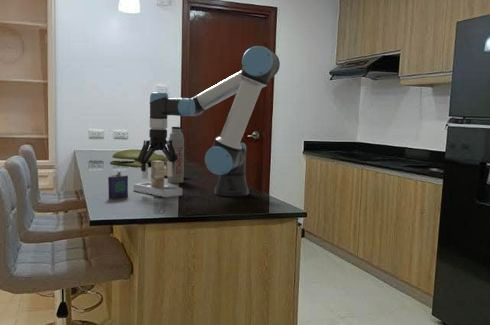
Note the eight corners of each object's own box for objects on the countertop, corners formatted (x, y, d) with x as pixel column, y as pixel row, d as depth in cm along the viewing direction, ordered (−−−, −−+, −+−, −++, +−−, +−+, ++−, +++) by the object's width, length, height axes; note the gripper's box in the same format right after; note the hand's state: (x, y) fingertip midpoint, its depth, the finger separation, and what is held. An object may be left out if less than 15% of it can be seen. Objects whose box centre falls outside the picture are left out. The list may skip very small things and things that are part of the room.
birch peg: (163, 193, 203) (164, 161, 202) (156, 194, 200) (157, 161, 199) (158, 191, 206) (158, 160, 204) (150, 192, 203) (151, 160, 201)
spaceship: (173, 165, 314) (173, 150, 313) (140, 168, 288) (140, 153, 287) (136, 160, 332) (136, 147, 331) (102, 163, 306) (102, 149, 305)
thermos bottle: (184, 182, 234) (185, 127, 231) (168, 182, 232) (169, 126, 229) (182, 180, 242) (183, 126, 239) (166, 180, 240) (167, 126, 237)
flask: (125, 195, 194) (125, 170, 192) (129, 196, 192) (130, 171, 191) (106, 198, 186) (107, 172, 185) (111, 199, 184) (111, 172, 183)
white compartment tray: (182, 195, 199) (182, 188, 199) (165, 197, 192) (166, 190, 192) (149, 188, 213) (149, 182, 213) (133, 190, 206) (133, 183, 206)
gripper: (174, 128, 212) (173, 174, 214) (128, 128, 193) (128, 179, 195) (185, 129, 207) (184, 176, 209) (140, 129, 188) (139, 181, 190)
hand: (157, 177), depth 202 cm, fingers open, 13 cm apart
